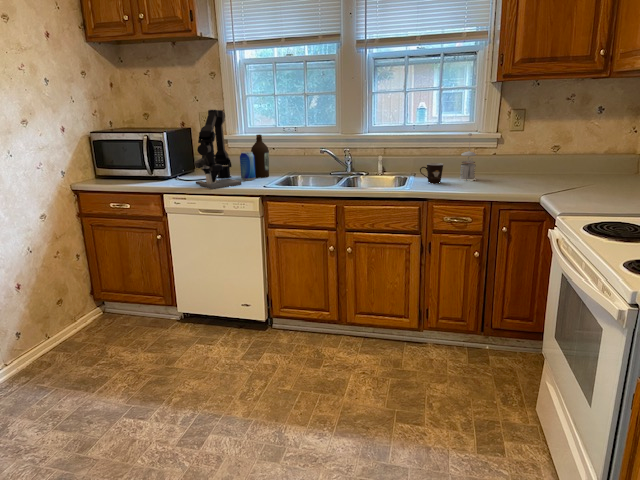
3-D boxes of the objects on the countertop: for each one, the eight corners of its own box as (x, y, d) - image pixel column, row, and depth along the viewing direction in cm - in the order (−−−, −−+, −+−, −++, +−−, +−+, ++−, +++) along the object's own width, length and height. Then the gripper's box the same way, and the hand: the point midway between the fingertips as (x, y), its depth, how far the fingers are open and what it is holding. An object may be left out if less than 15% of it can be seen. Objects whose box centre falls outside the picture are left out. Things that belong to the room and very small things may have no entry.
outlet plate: (228, 181, 276) (228, 178, 276) (241, 184, 266) (241, 181, 265) (200, 186, 265) (199, 182, 265) (212, 189, 255) (211, 185, 254)
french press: (474, 177, 269) (477, 132, 261) (479, 181, 258) (482, 134, 250) (456, 178, 270) (459, 132, 262) (460, 181, 259) (463, 134, 251)
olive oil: (250, 178, 287) (247, 135, 280) (255, 175, 297) (253, 134, 290) (267, 178, 285) (264, 135, 278) (272, 175, 295) (270, 133, 288)
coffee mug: (443, 181, 260) (444, 163, 257) (440, 184, 252) (441, 165, 249) (422, 180, 264) (423, 162, 261) (418, 183, 257) (419, 164, 254)
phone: (201, 182, 275) (201, 180, 275) (207, 184, 270) (206, 182, 270) (195, 183, 273) (195, 181, 273) (201, 185, 268) (201, 183, 268)
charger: (213, 183, 268) (212, 173, 266) (216, 184, 265) (215, 173, 263) (206, 184, 266) (205, 173, 264) (210, 185, 263) (208, 174, 261)
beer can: (258, 179, 282) (257, 151, 278) (247, 181, 276) (245, 153, 272) (249, 177, 288) (247, 151, 283) (238, 179, 282) (236, 152, 277)
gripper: (187, 153, 262) (190, 181, 267) (203, 156, 249) (205, 185, 253) (205, 151, 269) (208, 179, 274) (222, 153, 255) (224, 182, 260)
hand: (211, 181), depth 265 cm, fingers open, 5 cm apart
